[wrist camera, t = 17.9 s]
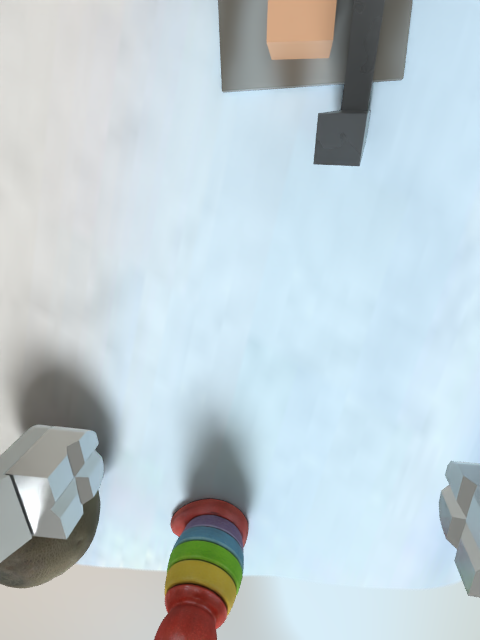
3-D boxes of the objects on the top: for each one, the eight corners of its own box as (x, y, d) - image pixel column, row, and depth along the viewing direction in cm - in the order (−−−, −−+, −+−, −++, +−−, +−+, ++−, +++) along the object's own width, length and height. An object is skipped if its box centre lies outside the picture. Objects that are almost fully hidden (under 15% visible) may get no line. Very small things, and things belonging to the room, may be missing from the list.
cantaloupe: (67, 510, 56) (-9, 620, 43) (11, 440, 52) (-93, 537, 39) (140, 491, 52) (82, 607, 38) (86, 413, 48) (-1, 512, 34)
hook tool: (270, 140, 33) (213, 159, 21) (278, -61, 26) (202, -189, 15) (365, 143, 31) (359, 166, 19) (399, -75, 24) (422, -240, 13)
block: (271, 59, 29) (266, 42, 25) (274, -12, 28) (269, -43, 23) (329, 58, 29) (333, 39, 25) (335, -16, 27) (341, -48, 23)
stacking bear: (167, 520, 53) (107, 674, 37) (202, 482, 49) (152, 637, 33) (227, 557, 55) (195, 723, 38) (267, 523, 50) (249, 692, 34)
